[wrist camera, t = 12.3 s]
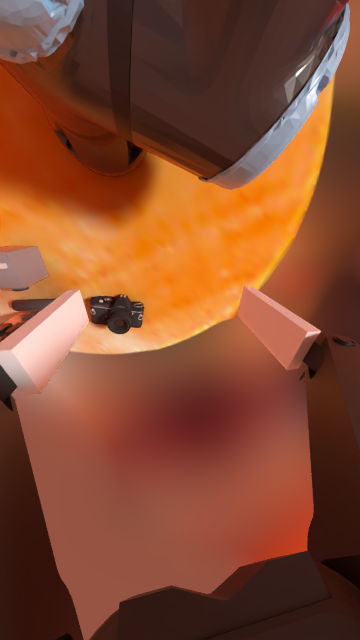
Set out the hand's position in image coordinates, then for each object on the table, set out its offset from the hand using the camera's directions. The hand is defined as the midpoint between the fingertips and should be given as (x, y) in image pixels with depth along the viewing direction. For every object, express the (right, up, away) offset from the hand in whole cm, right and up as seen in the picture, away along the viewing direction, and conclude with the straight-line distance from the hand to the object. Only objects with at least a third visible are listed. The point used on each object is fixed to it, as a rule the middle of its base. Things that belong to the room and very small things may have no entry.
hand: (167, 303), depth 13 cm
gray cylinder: (-32, +3, +25) cm, 40 cm away
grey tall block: (-30, +11, +20) cm, 38 cm away
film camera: (-15, +1, +29) cm, 33 cm away
